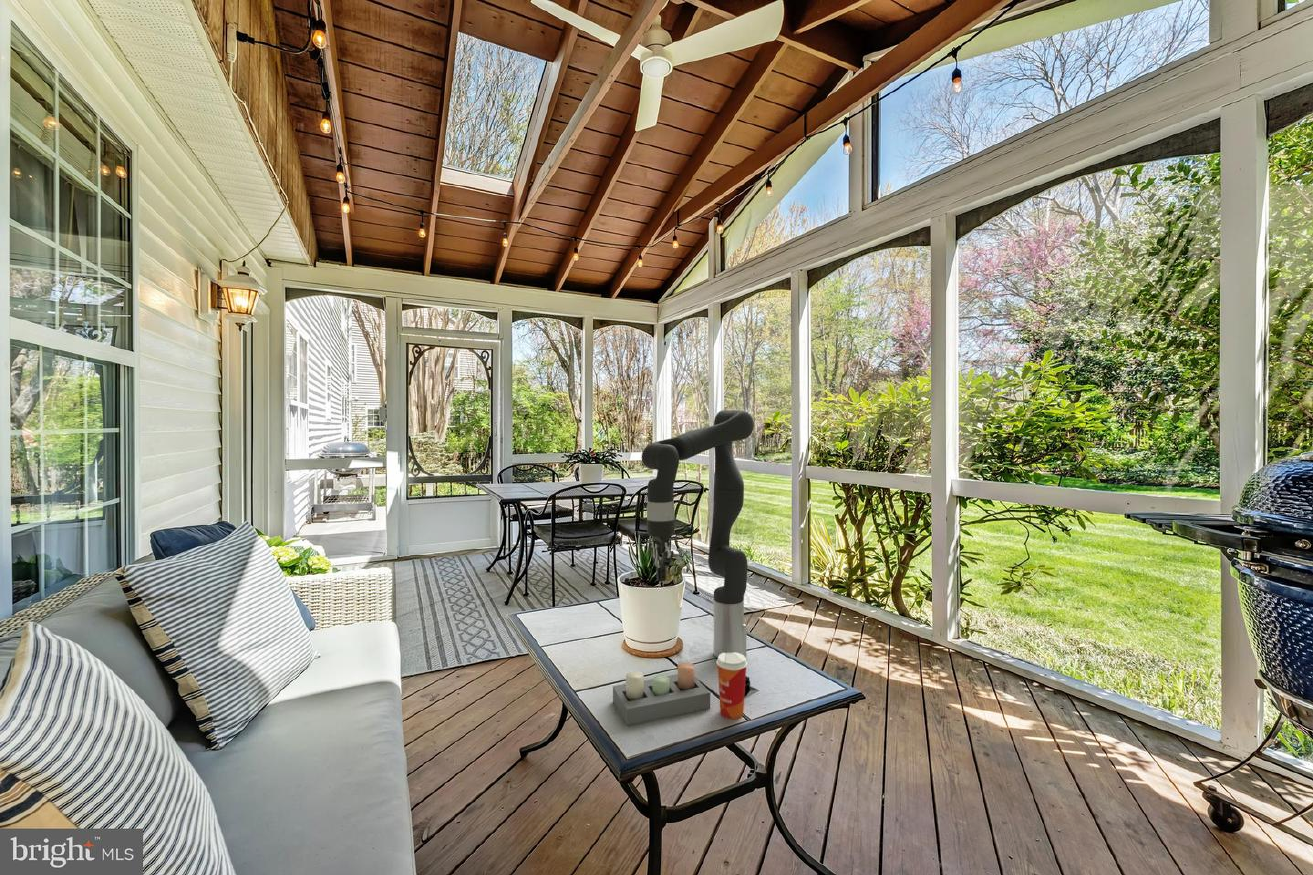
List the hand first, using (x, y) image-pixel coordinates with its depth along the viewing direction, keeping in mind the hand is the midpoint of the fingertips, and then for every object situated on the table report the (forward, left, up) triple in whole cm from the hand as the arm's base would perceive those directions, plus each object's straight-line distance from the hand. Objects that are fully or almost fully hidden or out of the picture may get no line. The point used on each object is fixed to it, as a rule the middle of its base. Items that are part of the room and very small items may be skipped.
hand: (661, 580), depth 152 cm
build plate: (-18, +12, -30) cm, 37 cm away
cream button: (+11, +10, -25) cm, 29 cm away
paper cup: (-11, +20, -29) cm, 37 cm away
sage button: (+4, +10, -27) cm, 29 cm away
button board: (+4, +10, -29) cm, 31 cm away
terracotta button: (-3, +10, -25) cm, 27 cm away
